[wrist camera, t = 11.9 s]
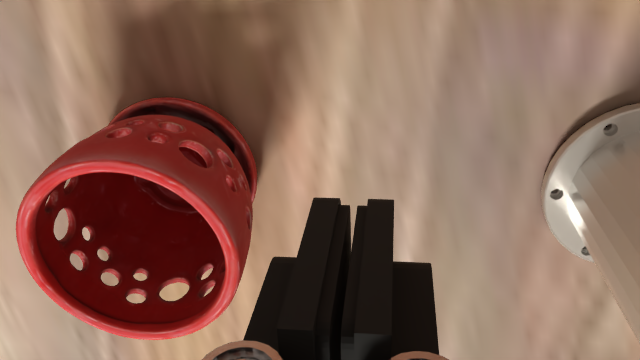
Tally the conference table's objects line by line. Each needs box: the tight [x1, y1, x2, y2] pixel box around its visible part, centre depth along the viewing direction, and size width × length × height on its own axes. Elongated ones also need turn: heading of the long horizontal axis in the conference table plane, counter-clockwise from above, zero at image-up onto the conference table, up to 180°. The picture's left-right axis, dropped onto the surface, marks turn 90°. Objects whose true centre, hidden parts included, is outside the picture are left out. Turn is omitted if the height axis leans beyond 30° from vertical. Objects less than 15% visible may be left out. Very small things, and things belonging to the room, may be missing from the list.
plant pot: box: [16, 98, 257, 340], centre depth 36 cm, size 13×13×12 cm
